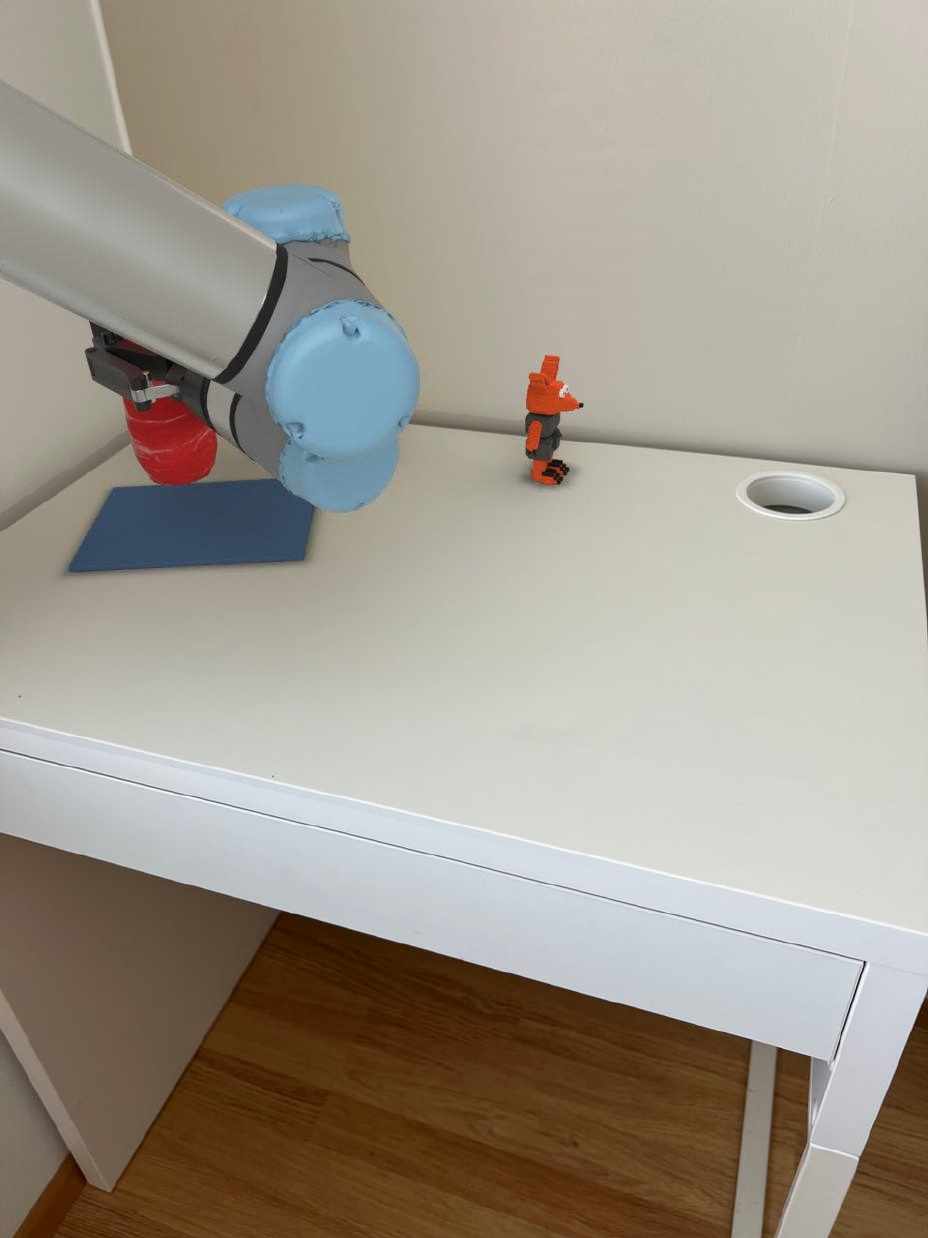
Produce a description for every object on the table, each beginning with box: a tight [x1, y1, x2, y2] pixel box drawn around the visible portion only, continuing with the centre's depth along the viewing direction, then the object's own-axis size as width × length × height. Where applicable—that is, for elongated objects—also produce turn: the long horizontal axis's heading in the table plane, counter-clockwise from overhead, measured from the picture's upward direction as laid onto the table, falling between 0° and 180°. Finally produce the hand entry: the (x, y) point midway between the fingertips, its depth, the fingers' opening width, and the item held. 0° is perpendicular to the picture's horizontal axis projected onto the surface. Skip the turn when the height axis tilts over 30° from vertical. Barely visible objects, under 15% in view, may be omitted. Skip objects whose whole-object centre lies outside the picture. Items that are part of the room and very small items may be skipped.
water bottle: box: [121, 338, 219, 486], centre depth 88 cm, size 12×8×25 cm, turn 74°
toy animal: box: [524, 354, 584, 486], centre depth 101 cm, size 8×6×12 cm
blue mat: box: [68, 478, 315, 573], centre depth 100 cm, size 22×16×1 cm
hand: (138, 321), depth 90 cm, fingers closed on water bottle, 7 cm apart
